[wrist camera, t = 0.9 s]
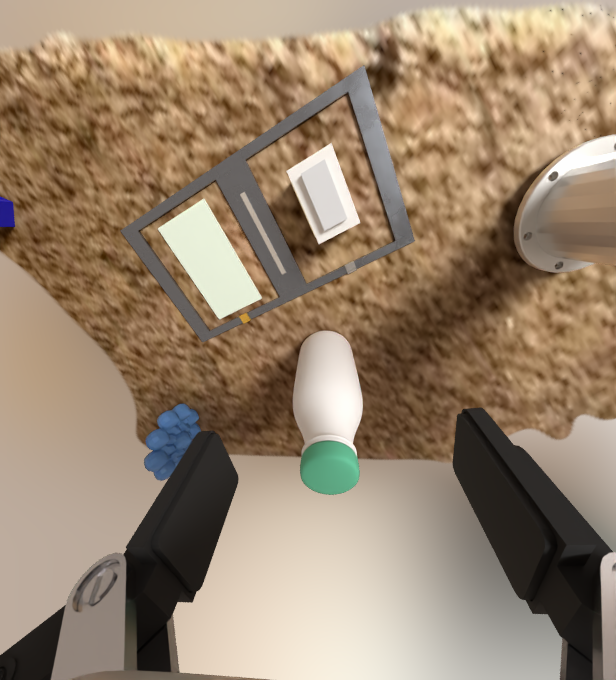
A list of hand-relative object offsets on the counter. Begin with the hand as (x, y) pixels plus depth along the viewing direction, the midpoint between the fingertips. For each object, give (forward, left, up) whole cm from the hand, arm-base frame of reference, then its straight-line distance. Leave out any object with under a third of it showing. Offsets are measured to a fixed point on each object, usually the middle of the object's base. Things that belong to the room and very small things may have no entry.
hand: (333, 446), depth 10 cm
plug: (-4, -10, -25) cm, 27 cm away
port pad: (+12, -10, -25) cm, 29 cm away
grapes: (+31, +9, -25) cm, 41 cm away
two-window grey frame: (+4, -10, -25) cm, 27 cm away
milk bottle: (+4, +9, -25) cm, 27 cm away
